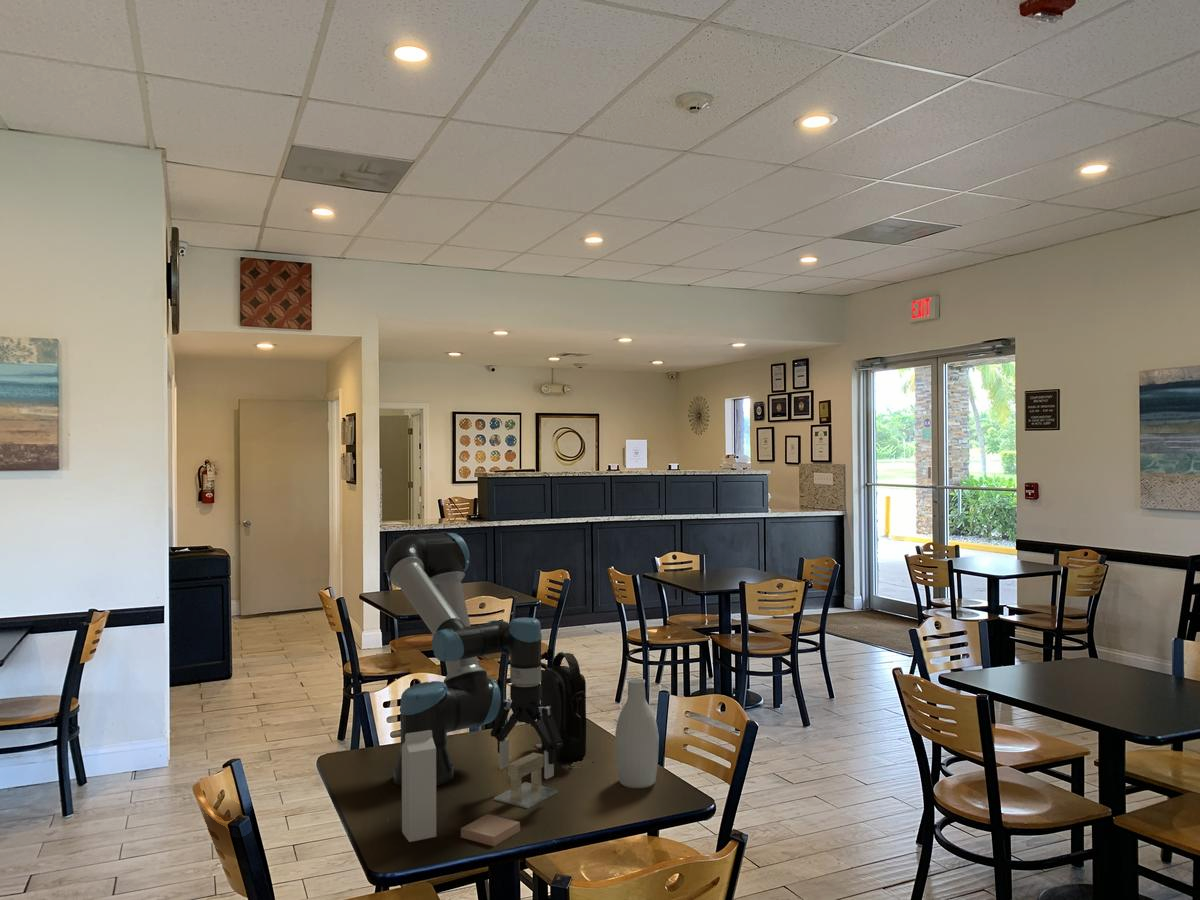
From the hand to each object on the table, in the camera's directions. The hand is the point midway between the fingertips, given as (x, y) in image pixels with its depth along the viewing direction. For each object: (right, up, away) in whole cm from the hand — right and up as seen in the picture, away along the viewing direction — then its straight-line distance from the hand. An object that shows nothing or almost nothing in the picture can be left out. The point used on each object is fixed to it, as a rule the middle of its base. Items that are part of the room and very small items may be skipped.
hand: (526, 772), depth 210 cm
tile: (-3, -4, -18) cm, 19 cm away
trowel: (0, -6, 0) cm, 6 cm away
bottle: (+27, -6, +8) cm, 29 cm away
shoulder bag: (+8, -7, +30) cm, 32 cm away
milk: (-21, -6, -22) cm, 31 cm away
